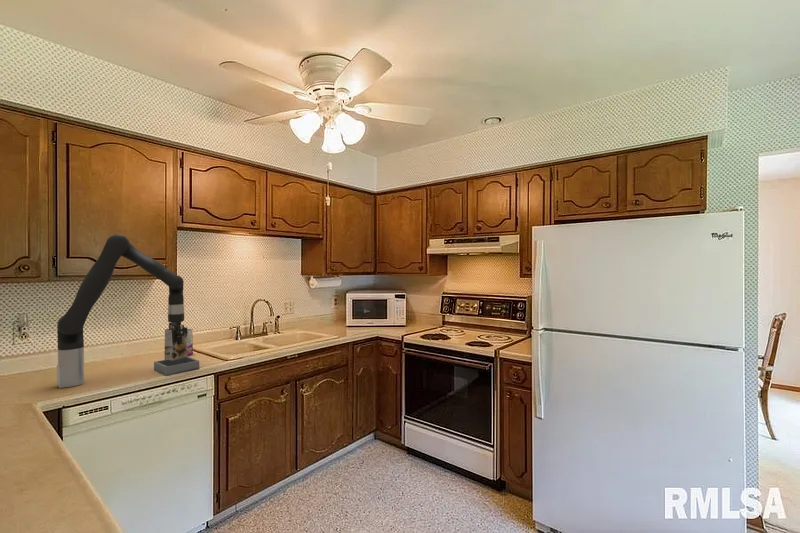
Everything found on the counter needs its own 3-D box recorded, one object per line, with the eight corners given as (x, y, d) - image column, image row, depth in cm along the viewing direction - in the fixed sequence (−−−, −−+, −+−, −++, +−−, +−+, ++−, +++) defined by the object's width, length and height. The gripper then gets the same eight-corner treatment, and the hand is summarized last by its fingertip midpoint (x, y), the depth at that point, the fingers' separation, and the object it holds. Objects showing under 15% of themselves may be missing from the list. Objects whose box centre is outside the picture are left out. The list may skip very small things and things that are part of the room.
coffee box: (173, 360, 195) (173, 330, 195) (164, 359, 197) (163, 329, 197) (188, 356, 204) (188, 327, 204) (179, 355, 206) (178, 326, 206)
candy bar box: (186, 354, 235) (185, 328, 235) (193, 354, 234) (193, 328, 234) (172, 358, 224) (172, 331, 224) (180, 359, 223) (179, 331, 223)
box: (166, 376, 189) (166, 367, 189) (153, 370, 200) (153, 361, 200) (199, 369, 202) (199, 360, 201) (186, 363, 212) (186, 355, 212)
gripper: (163, 312, 202) (163, 342, 202) (173, 314, 193) (174, 346, 193) (178, 311, 208) (178, 340, 208) (189, 313, 199) (189, 343, 199)
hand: (176, 343), depth 200 cm, fingers closed on coffee box, 8 cm apart
